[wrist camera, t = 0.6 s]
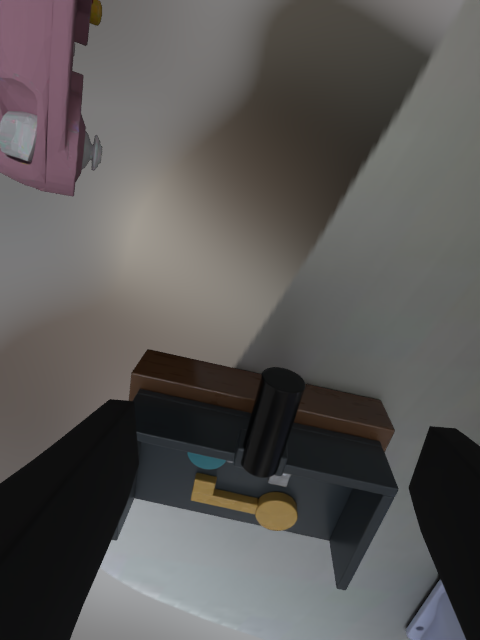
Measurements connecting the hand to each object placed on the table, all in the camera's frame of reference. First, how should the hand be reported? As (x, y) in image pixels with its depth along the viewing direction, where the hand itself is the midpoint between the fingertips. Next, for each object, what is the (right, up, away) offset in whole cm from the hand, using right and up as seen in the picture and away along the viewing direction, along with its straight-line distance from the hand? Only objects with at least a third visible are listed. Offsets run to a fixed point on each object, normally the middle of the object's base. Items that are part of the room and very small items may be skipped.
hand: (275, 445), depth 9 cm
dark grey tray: (0, -3, +9) cm, 10 cm away
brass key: (-1, -6, +10) cm, 12 cm away
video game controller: (-8, +14, +6) cm, 17 cm away
